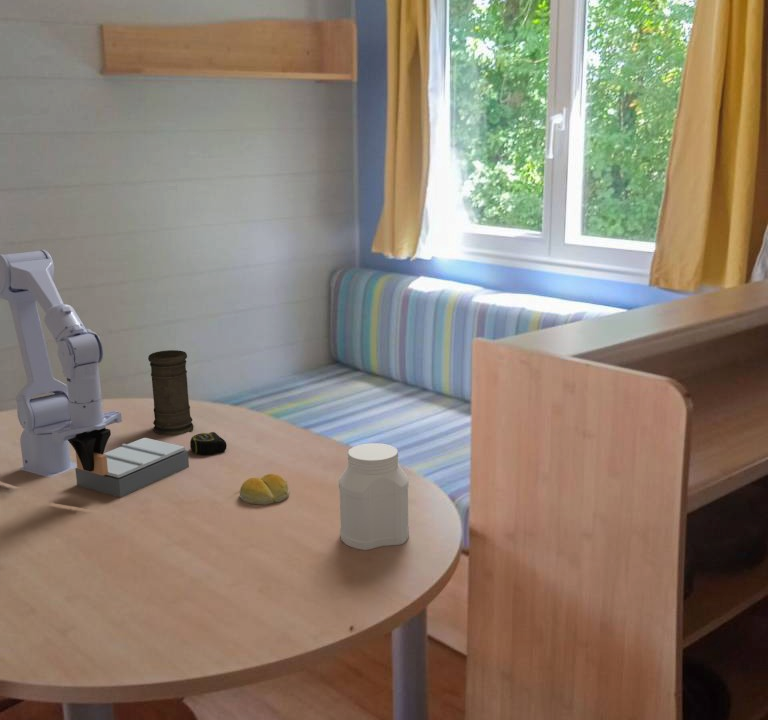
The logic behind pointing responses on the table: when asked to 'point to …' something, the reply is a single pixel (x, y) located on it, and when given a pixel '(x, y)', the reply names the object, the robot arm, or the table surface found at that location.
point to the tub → (133, 476)
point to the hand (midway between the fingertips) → (92, 468)
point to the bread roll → (264, 490)
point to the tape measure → (207, 444)
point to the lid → (131, 457)
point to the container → (170, 393)
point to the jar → (373, 498)
